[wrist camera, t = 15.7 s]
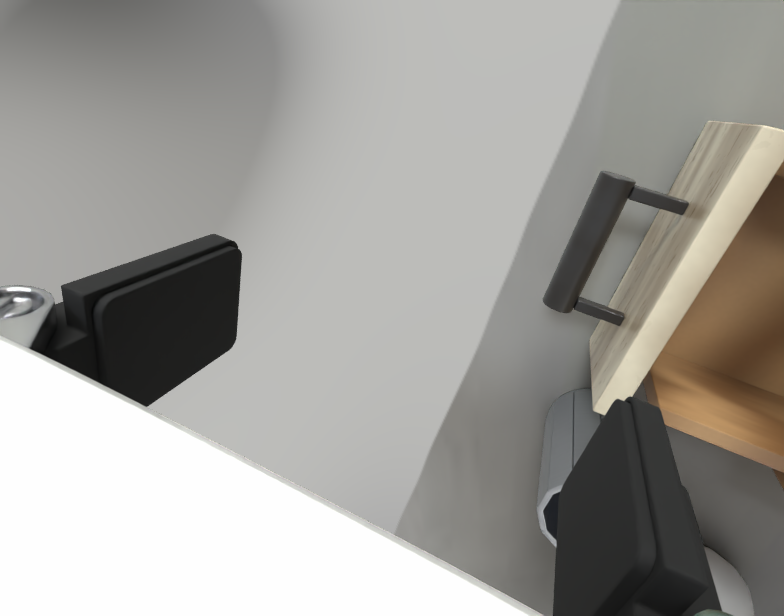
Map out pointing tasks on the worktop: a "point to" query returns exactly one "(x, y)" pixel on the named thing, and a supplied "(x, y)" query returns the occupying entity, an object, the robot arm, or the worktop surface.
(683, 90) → the worktop surface
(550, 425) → the measuring cup
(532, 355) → the worktop surface
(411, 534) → the worktop surface
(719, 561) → the donut
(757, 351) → the drawer
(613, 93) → the worktop surface
